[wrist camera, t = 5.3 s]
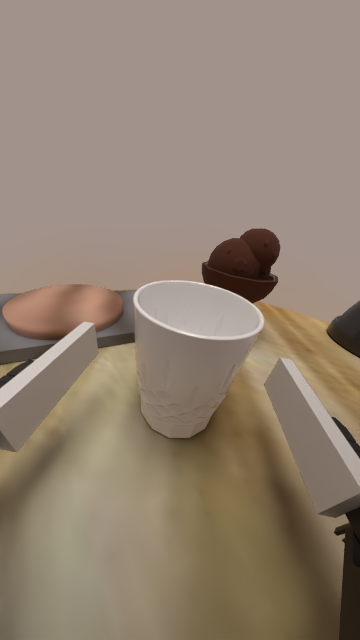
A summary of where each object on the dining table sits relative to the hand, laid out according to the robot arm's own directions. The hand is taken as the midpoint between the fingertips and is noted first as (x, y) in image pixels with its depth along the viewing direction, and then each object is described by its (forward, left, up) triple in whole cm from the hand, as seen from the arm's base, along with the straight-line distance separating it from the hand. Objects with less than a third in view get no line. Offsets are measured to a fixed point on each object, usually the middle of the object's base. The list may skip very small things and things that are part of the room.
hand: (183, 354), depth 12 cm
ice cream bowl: (-6, -17, -6) cm, 19 cm away
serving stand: (+16, -10, -6) cm, 19 cm away
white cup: (0, -1, -6) cm, 6 cm away
